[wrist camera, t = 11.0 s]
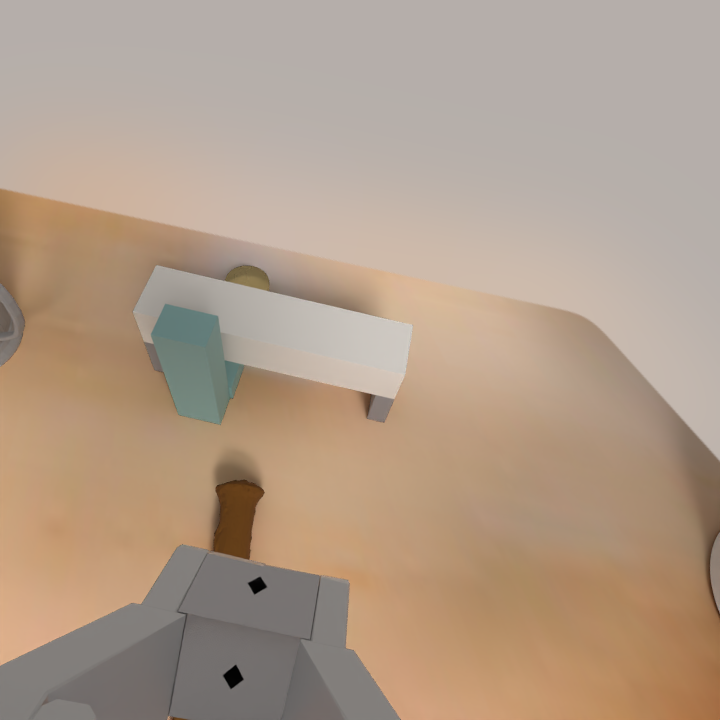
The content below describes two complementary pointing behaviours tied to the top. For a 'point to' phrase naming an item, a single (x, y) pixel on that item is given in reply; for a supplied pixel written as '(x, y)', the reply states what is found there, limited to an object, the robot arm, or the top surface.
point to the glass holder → (9, 325)
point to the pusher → (195, 363)
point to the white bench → (287, 334)
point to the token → (249, 277)
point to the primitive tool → (235, 519)
